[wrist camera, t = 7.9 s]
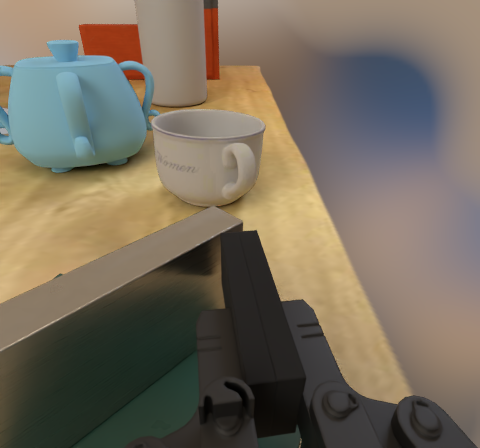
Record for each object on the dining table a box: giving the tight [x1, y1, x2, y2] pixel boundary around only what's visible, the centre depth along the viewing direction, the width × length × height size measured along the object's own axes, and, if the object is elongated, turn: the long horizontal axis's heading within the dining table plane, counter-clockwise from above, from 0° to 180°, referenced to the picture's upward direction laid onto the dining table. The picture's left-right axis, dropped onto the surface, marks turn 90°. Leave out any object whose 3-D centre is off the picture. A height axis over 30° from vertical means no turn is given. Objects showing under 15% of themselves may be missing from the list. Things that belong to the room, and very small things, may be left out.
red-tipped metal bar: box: [0, 206, 243, 448], centre depth 13 cm, size 14×2×6 cm, turn 135°
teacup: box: [151, 109, 265, 207], centre depth 33 cm, size 14×11×8 cm
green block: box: [52, 274, 301, 448], centre depth 15 cm, size 18×18×3 cm
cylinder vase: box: [135, 0, 207, 107], centre depth 65 cm, size 12×12×25 cm
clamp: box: [79, 0, 219, 79], centre depth 88 cm, size 9×35×28 cm, turn 95°
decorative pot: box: [0, 40, 160, 173], centre depth 41 cm, size 16×16×14 cm
